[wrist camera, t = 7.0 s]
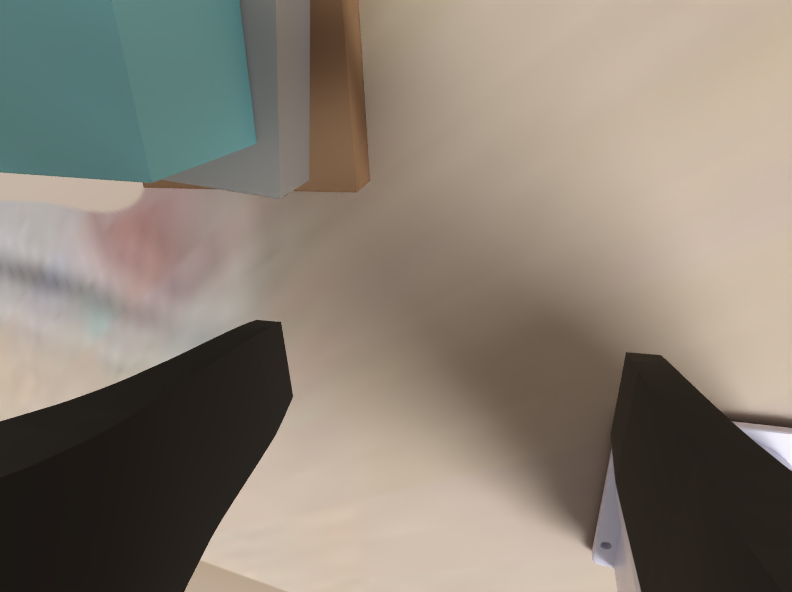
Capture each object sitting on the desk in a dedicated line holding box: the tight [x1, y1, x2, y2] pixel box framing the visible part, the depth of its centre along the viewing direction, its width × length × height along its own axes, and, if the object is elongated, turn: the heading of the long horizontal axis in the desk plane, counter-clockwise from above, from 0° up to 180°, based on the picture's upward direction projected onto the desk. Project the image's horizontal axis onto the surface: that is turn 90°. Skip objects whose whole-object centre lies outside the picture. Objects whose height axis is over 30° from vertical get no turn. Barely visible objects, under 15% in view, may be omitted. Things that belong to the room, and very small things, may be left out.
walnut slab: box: [143, 0, 370, 192], centre depth 19 cm, size 9×9×2 cm
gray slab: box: [161, 0, 310, 199], centre depth 17 cm, size 7×7×2 cm
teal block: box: [0, 0, 257, 183], centre depth 13 cm, size 4×4×5 cm
